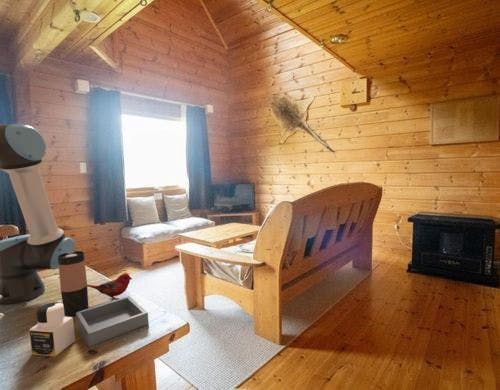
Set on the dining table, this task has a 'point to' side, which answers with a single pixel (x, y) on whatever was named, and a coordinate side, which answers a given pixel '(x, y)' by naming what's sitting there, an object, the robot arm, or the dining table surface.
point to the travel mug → (73, 282)
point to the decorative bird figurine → (114, 286)
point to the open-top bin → (111, 321)
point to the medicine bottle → (51, 330)
